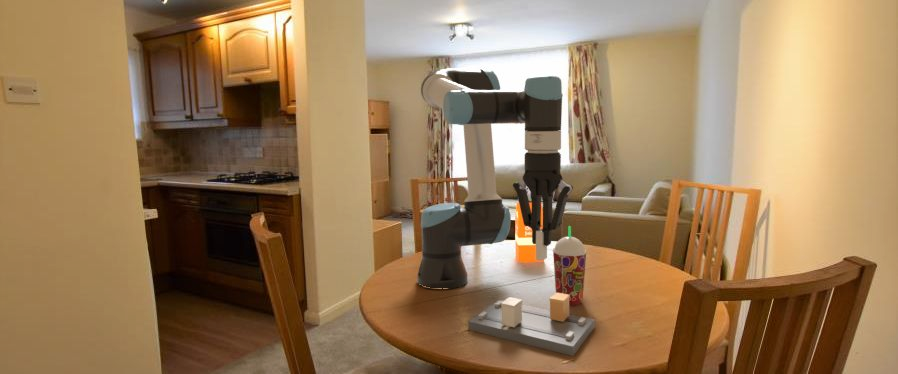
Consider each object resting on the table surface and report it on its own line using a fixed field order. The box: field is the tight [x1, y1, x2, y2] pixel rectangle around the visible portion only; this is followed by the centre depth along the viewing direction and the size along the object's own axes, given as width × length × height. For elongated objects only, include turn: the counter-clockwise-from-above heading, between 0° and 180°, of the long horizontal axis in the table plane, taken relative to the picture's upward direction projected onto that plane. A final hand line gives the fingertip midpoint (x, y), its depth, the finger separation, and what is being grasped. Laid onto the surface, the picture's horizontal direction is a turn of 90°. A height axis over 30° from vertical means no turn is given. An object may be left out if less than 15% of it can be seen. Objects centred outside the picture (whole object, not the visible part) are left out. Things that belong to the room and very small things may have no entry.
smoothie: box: [552, 225, 587, 306], centre depth 115 cm, size 8×8×20 cm
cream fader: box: [501, 296, 523, 327], centre depth 98 cm, size 3×4×5 cm
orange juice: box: [514, 201, 545, 263], centre depth 155 cm, size 8×9×20 cm
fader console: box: [468, 299, 596, 357], centre depth 100 cm, size 24×15×3 cm, turn 56°
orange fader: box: [549, 291, 570, 322], centre depth 100 cm, size 3×4×5 cm
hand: (541, 258), depth 98 cm, fingers closed
